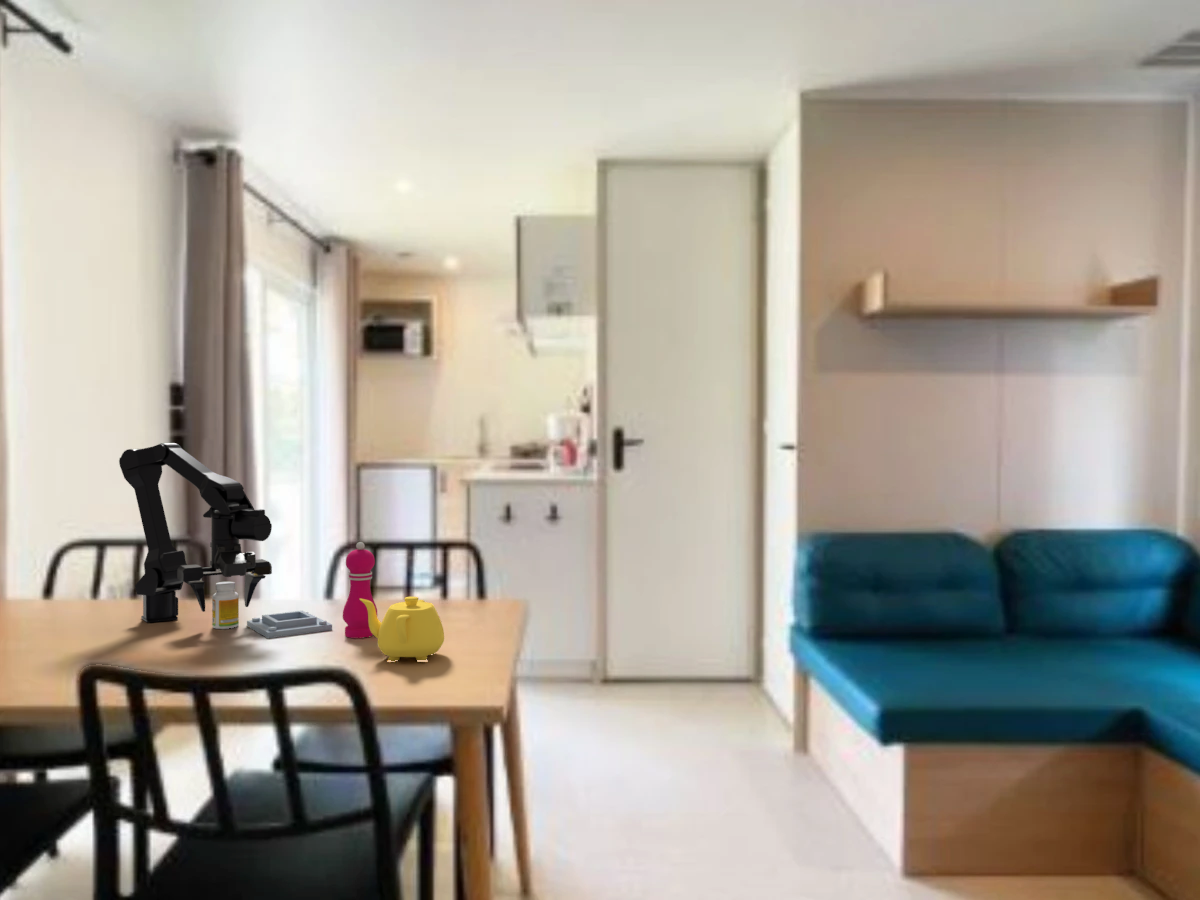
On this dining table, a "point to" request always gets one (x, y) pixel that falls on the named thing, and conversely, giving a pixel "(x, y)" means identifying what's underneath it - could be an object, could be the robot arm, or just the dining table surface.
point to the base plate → (288, 624)
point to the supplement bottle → (225, 606)
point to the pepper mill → (358, 592)
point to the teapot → (407, 629)
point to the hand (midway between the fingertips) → (225, 609)
